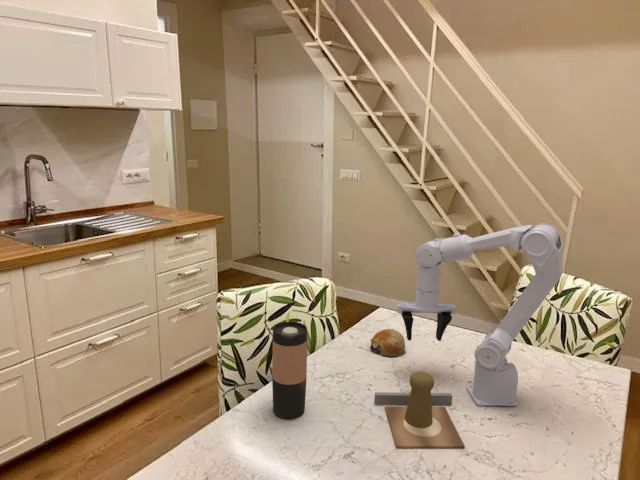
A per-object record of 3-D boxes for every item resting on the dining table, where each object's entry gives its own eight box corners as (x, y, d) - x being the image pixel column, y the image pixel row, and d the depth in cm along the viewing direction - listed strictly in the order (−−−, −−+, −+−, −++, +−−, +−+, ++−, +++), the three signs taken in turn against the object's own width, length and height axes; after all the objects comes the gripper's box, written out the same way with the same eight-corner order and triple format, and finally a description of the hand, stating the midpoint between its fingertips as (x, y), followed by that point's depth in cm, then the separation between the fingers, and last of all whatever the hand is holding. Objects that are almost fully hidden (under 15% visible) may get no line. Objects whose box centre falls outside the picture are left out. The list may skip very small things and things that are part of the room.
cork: (434, 429, 101) (438, 382, 98) (405, 426, 101) (409, 380, 99) (430, 412, 107) (434, 368, 104) (403, 410, 107) (406, 366, 105)
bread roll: (400, 370, 134) (414, 347, 132) (368, 354, 133) (382, 331, 131) (395, 353, 144) (408, 332, 142) (365, 339, 143) (378, 317, 141)
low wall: (449, 402, 112) (450, 392, 111) (451, 405, 111) (452, 395, 110) (374, 401, 111) (374, 392, 111) (375, 404, 110) (375, 395, 110)
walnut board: (444, 408, 109) (444, 406, 109) (464, 448, 96) (464, 445, 96) (384, 408, 109) (384, 405, 109) (396, 448, 95) (396, 445, 95)
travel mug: (290, 397, 112) (291, 318, 108) (312, 411, 107) (315, 329, 102) (265, 409, 107) (265, 327, 102) (287, 424, 102) (288, 339, 97)
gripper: (451, 284, 123) (446, 332, 126) (396, 283, 122) (392, 332, 125) (460, 293, 116) (455, 344, 119) (401, 292, 115) (397, 343, 118)
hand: (423, 339), depth 122 cm, fingers open, 7 cm apart
